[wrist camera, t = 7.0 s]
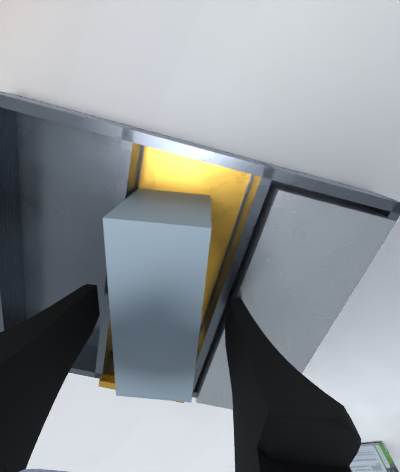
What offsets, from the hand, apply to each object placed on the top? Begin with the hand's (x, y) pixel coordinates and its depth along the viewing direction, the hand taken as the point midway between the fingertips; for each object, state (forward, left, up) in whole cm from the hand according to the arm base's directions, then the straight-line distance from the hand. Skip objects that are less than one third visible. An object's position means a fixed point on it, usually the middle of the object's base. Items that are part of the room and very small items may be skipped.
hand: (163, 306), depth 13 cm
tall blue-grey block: (0, -1, -3) cm, 3 cm away
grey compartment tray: (0, 0, -3) cm, 3 cm away
